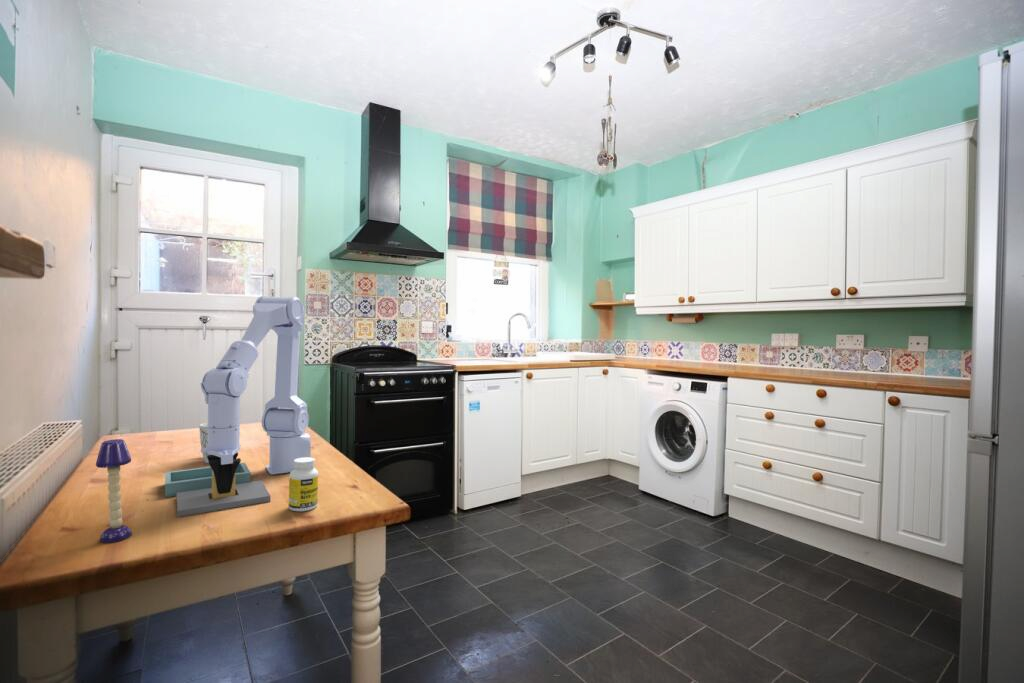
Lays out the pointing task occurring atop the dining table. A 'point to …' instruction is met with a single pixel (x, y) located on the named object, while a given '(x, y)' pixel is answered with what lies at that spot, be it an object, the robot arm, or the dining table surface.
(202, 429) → the mug
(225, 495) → the block
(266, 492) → the socket block
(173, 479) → the parts tray
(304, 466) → the supplement bottle
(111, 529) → the toy lamp
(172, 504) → the dining table surface
